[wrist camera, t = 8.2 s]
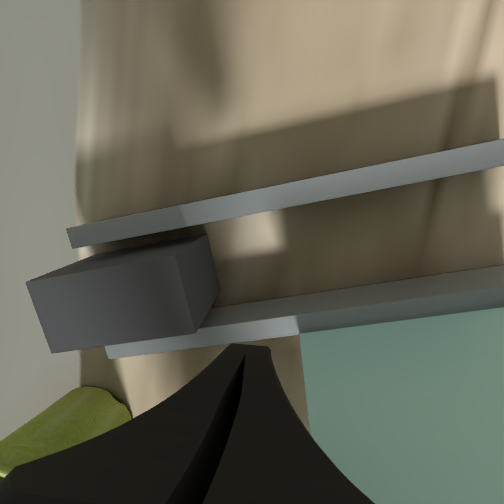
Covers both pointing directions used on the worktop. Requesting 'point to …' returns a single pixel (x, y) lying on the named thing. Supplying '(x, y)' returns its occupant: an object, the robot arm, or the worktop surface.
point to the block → (127, 295)
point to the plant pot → (62, 426)
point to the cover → (412, 406)
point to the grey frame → (328, 302)
